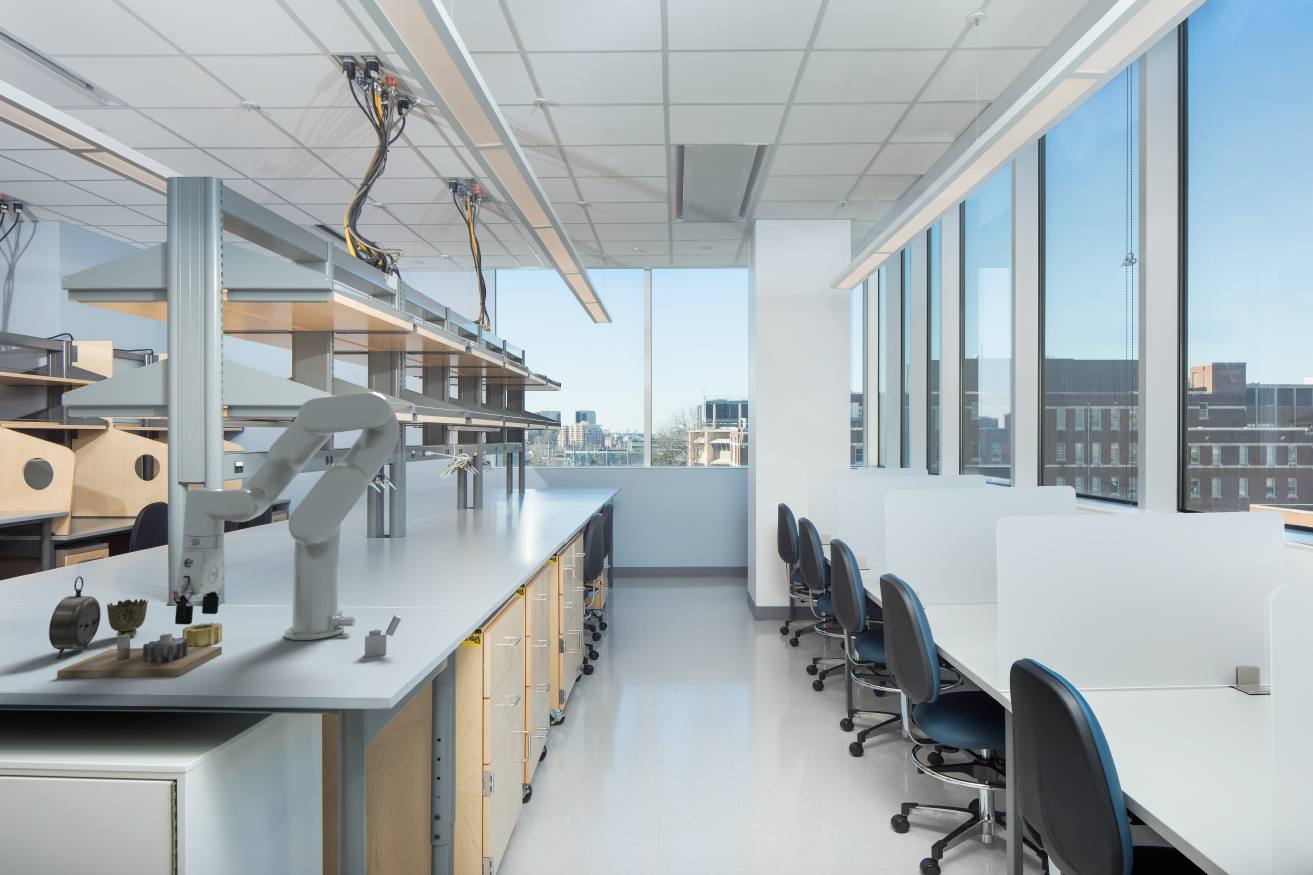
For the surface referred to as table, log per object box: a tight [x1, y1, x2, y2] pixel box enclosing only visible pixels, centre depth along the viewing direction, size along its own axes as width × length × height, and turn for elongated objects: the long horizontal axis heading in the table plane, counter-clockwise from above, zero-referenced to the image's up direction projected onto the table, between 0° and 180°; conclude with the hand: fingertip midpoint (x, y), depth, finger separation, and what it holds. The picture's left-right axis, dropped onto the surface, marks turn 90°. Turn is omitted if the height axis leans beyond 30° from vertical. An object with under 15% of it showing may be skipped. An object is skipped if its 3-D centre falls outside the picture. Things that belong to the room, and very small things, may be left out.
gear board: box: [56, 633, 223, 680], centre depth 132 cm, size 22×14×6 cm, turn 95°
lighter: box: [364, 614, 402, 658], centre depth 141 cm, size 7×2×8 cm, turn 118°
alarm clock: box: [48, 575, 101, 659], centre depth 141 cm, size 11×5×16 cm, turn 16°
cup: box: [106, 598, 149, 638], centre depth 153 cm, size 8×7×8 cm
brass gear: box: [182, 622, 223, 647], centre depth 149 cm, size 7×7×4 cm
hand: (197, 618), depth 148 cm, fingers open, 9 cm apart
